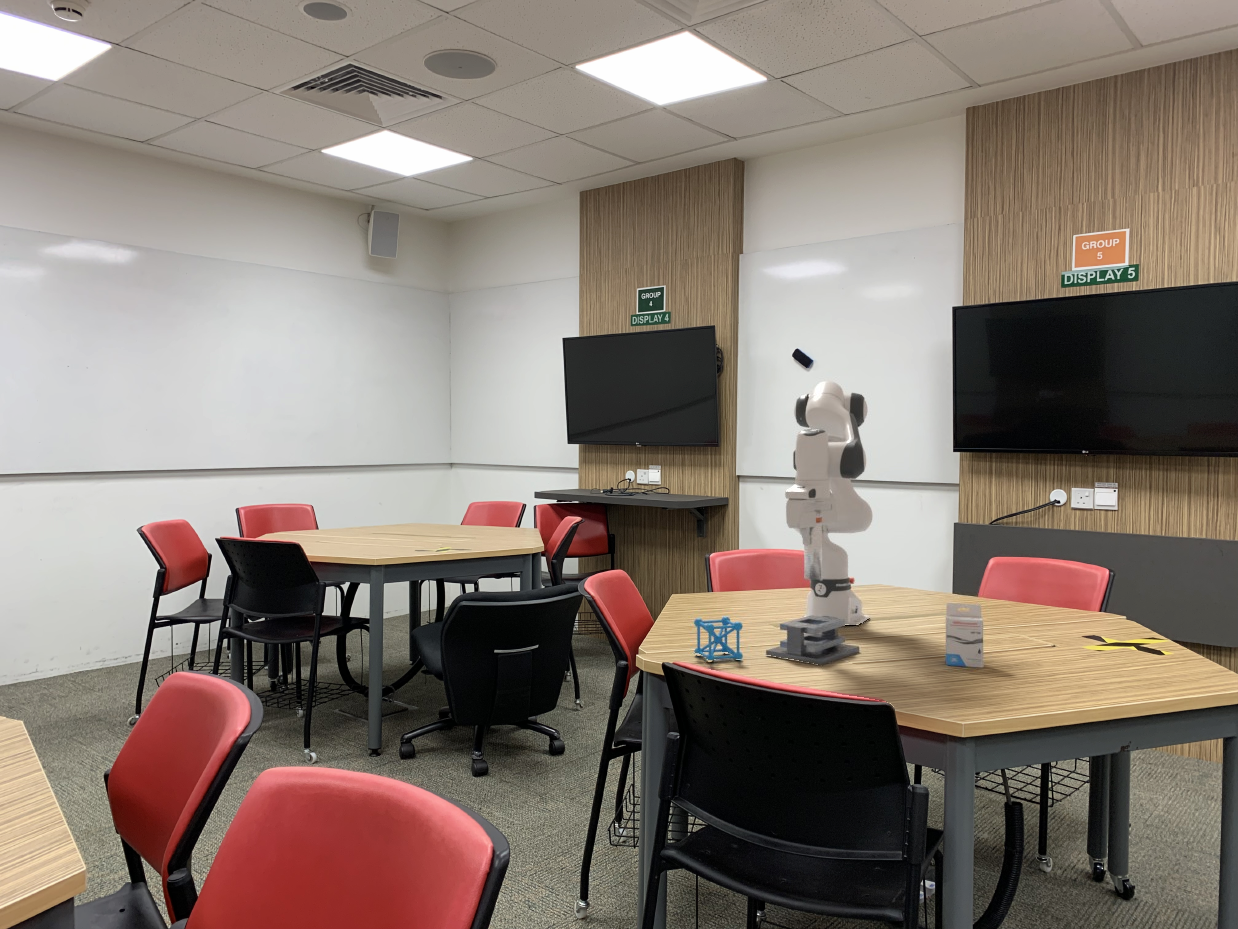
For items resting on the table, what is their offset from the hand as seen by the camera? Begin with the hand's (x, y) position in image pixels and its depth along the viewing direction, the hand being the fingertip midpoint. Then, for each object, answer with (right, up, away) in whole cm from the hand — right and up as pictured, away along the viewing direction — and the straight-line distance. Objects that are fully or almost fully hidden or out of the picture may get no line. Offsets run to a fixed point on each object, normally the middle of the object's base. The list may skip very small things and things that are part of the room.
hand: (812, 543), depth 224 cm
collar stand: (0, -29, 0) cm, 29 cm away
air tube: (0, -9, 0) cm, 9 cm away
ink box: (+35, -29, -13) cm, 47 cm away
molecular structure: (-25, -29, -4) cm, 39 cm away
